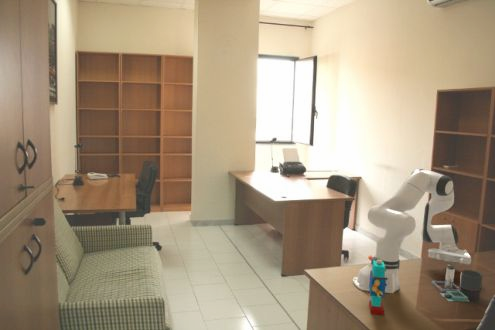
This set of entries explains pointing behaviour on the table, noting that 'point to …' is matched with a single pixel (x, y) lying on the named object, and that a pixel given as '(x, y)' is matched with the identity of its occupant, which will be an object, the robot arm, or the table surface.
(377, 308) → the toy robot
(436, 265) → the table surface
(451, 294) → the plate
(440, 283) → the grey square frame
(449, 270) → the salt shaker
